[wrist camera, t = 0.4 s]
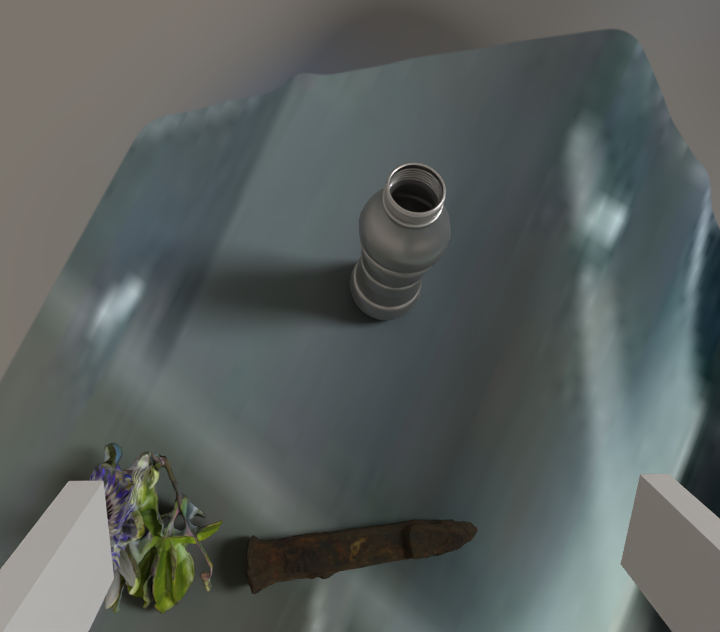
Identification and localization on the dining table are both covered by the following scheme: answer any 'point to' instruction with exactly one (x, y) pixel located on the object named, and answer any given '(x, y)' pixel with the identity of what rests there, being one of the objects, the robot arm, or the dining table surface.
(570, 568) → the dining table surface
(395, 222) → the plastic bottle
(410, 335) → the dining table surface
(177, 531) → the passion flower
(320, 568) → the hand tool
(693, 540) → the robot arm
